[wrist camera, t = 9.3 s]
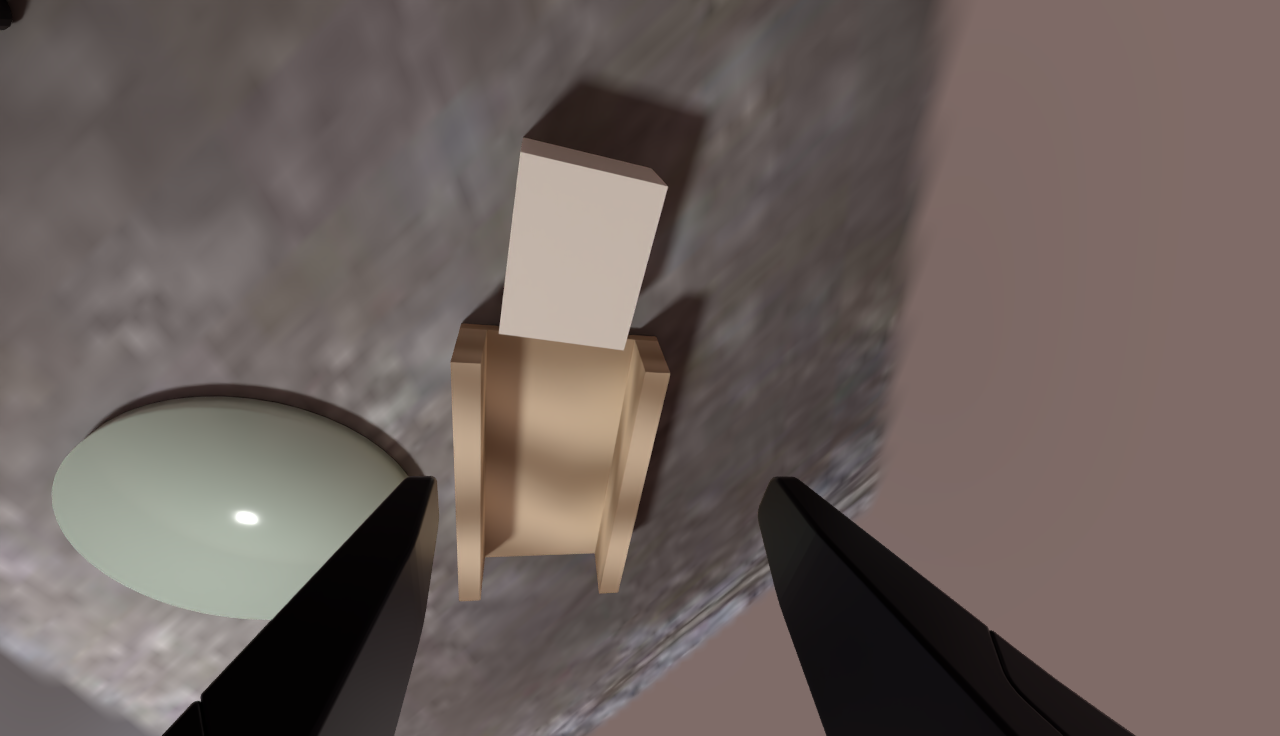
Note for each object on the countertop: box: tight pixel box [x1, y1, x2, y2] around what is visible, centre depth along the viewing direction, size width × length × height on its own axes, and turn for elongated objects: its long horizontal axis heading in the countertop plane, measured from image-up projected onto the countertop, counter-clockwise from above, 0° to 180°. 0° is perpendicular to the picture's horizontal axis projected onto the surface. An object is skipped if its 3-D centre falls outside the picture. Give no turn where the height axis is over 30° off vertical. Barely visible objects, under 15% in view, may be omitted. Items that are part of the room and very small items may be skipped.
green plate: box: [52, 396, 409, 620], centre depth 23 cm, size 14×14×1 cm
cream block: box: [499, 137, 668, 350], centre depth 17 cm, size 6×4×3 cm
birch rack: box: [451, 323, 671, 601], centre depth 23 cm, size 14×8×3 cm, turn 170°
